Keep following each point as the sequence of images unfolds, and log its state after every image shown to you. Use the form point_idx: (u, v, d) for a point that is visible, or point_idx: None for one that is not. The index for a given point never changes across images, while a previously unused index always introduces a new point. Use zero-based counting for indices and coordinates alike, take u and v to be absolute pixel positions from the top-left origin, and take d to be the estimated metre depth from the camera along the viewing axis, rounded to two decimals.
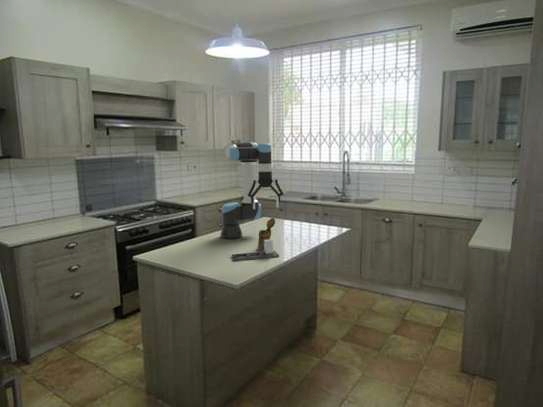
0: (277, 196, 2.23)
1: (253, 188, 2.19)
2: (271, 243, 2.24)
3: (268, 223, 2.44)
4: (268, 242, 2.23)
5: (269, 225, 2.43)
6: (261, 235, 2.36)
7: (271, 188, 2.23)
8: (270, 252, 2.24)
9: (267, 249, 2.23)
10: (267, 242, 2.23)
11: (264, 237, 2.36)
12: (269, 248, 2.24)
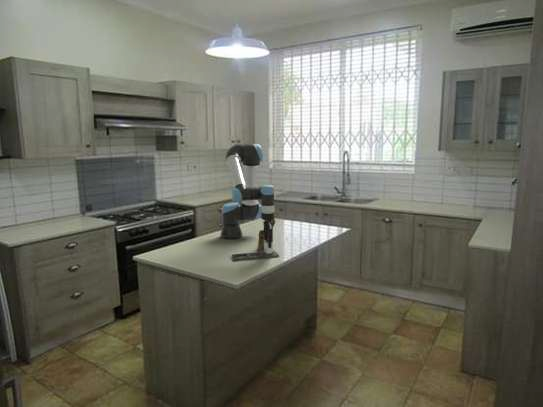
0: None
1: (264, 229, 2.28)
2: None
3: None
4: None
5: None
6: (261, 235, 2.36)
7: None
8: None
9: None
10: None
11: None
12: None
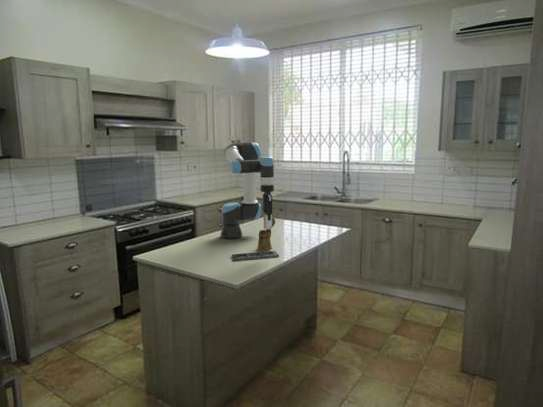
0: None
1: (263, 202, 2.26)
2: None
3: None
4: None
5: None
6: (261, 235, 2.36)
7: None
8: None
9: None
10: None
11: (264, 237, 2.36)
12: None
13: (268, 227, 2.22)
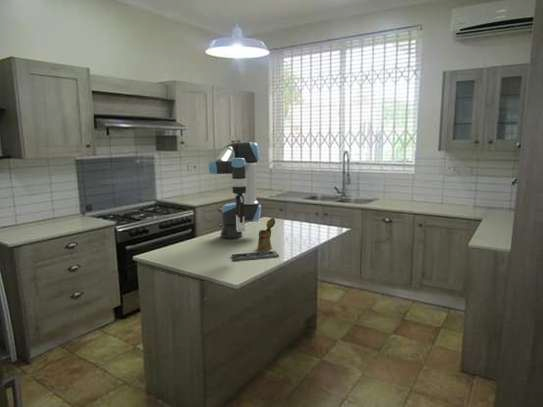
0: None
1: (236, 204, 2.22)
2: (243, 218, 2.17)
3: (268, 223, 2.44)
4: None
5: (269, 225, 2.43)
6: (261, 235, 2.36)
7: None
8: None
9: None
10: None
11: (264, 237, 2.36)
12: None
13: (240, 229, 2.18)
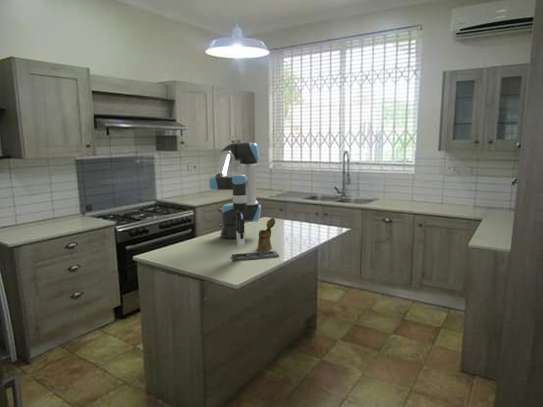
0: (240, 232, 2.17)
1: (236, 220, 2.23)
2: None
3: (268, 223, 2.44)
4: None
5: (269, 225, 2.43)
6: (261, 235, 2.36)
7: None
8: None
9: None
10: None
11: (264, 237, 2.36)
12: None
13: (241, 245, 2.19)
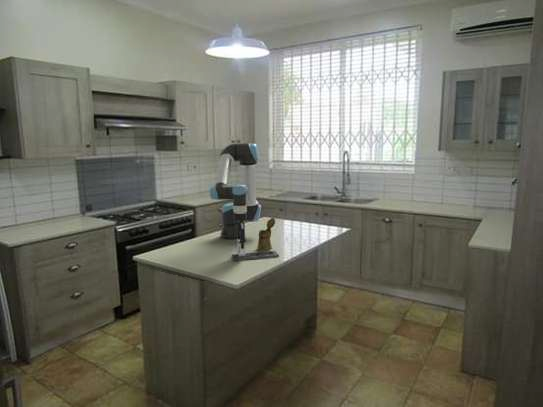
0: (241, 242, 2.17)
1: (236, 228, 2.25)
2: None
3: (268, 223, 2.44)
4: None
5: (269, 225, 2.43)
6: (261, 235, 2.36)
7: None
8: (243, 254, 2.20)
9: (239, 251, 2.20)
10: (239, 244, 2.19)
11: (264, 237, 2.36)
12: None
13: (241, 256, 2.20)
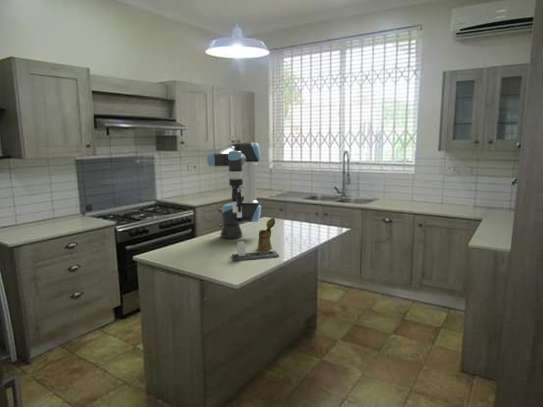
0: (237, 206, 2.17)
1: (232, 193, 2.29)
2: (244, 245, 2.20)
3: (268, 223, 2.44)
4: (240, 244, 2.19)
5: (269, 225, 2.43)
6: (261, 235, 2.36)
7: None
8: (243, 254, 2.20)
9: (239, 251, 2.20)
10: (239, 244, 2.19)
11: (264, 237, 2.36)
12: (241, 250, 2.20)
13: (241, 256, 2.20)
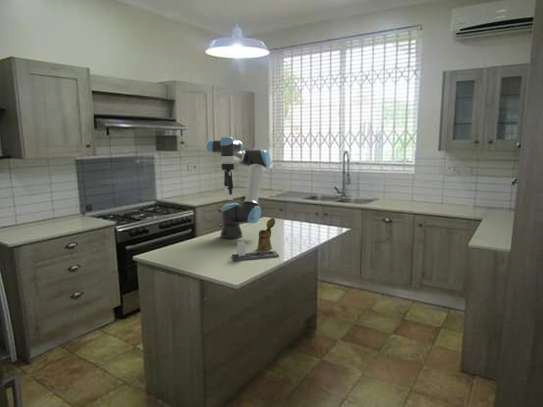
0: None
1: (224, 177, 2.41)
2: (244, 245, 2.20)
3: (268, 223, 2.44)
4: (240, 244, 2.19)
5: (269, 225, 2.43)
6: (261, 235, 2.36)
7: None
8: (243, 254, 2.20)
9: (239, 251, 2.20)
10: (239, 244, 2.19)
11: (264, 237, 2.36)
12: (241, 250, 2.20)
13: (241, 256, 2.20)
